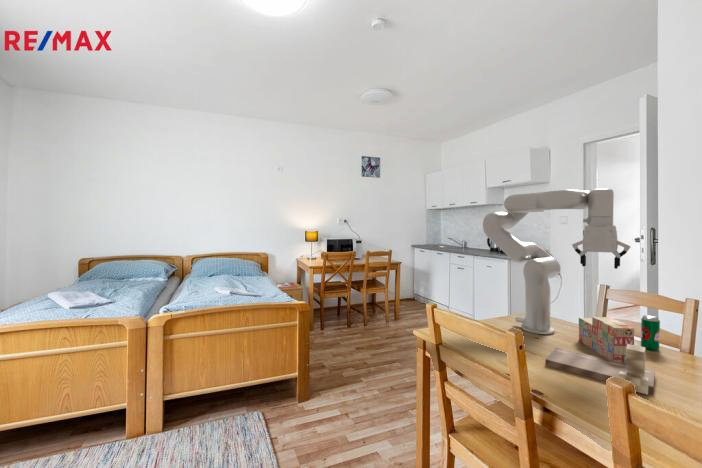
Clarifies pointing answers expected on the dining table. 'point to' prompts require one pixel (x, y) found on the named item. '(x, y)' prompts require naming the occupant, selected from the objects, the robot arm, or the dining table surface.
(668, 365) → the dining table surface
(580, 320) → the stack of blocks
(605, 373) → the board
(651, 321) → the soda can
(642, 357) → the beige block
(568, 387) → the dining table surface
